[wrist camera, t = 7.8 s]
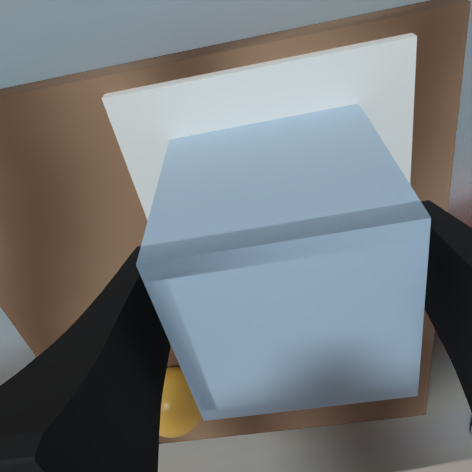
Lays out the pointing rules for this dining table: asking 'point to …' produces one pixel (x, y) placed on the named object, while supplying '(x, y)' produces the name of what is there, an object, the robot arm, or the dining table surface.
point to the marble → (177, 406)
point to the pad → (268, 102)
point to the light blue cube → (288, 265)
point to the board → (128, 203)
